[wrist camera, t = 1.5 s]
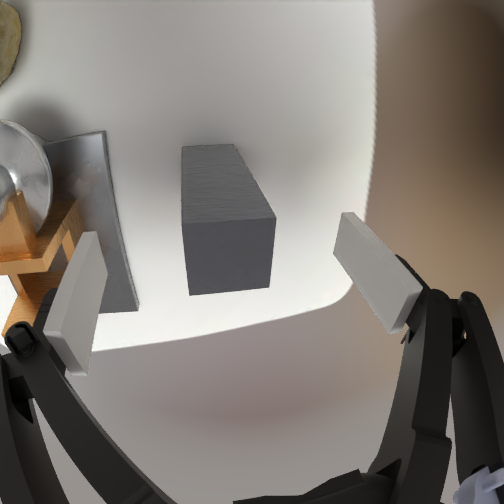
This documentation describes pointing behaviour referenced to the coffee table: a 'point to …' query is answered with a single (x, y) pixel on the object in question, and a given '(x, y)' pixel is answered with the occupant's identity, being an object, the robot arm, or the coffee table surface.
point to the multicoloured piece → (56, 217)
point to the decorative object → (8, 39)
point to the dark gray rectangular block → (224, 222)
